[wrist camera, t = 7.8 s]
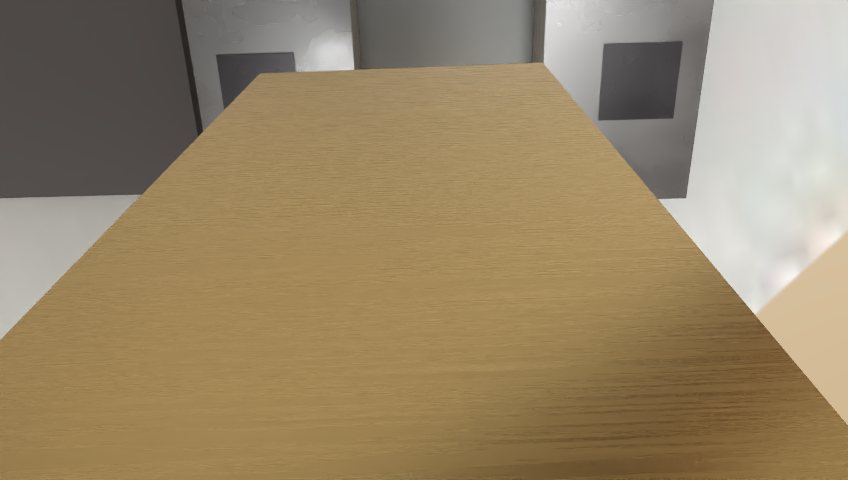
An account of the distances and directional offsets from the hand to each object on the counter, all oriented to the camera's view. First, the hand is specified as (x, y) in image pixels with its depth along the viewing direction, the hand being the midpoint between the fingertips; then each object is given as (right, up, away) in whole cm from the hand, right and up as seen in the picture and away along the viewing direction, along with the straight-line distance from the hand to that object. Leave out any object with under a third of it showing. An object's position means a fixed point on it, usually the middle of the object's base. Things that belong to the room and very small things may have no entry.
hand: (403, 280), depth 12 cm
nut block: (0, +2, +4) cm, 4 cm away
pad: (-15, +8, +18) cm, 24 cm away
